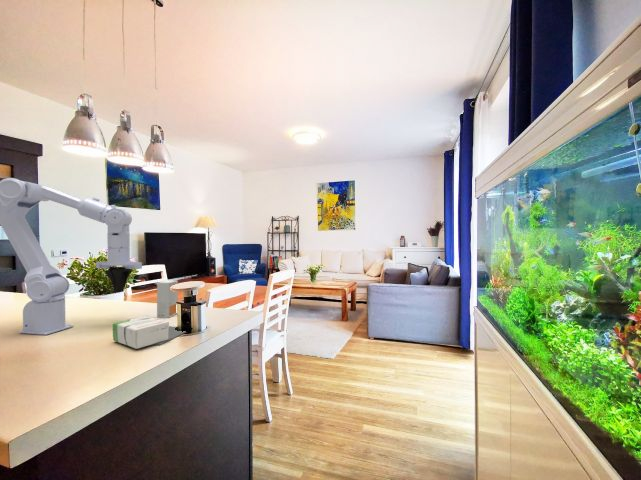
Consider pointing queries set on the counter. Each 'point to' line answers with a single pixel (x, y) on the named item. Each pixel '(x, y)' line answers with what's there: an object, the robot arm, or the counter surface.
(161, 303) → the skincare box
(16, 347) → the counter surface
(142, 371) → the counter surface
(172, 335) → the mat
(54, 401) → the counter surface
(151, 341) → the ink box
